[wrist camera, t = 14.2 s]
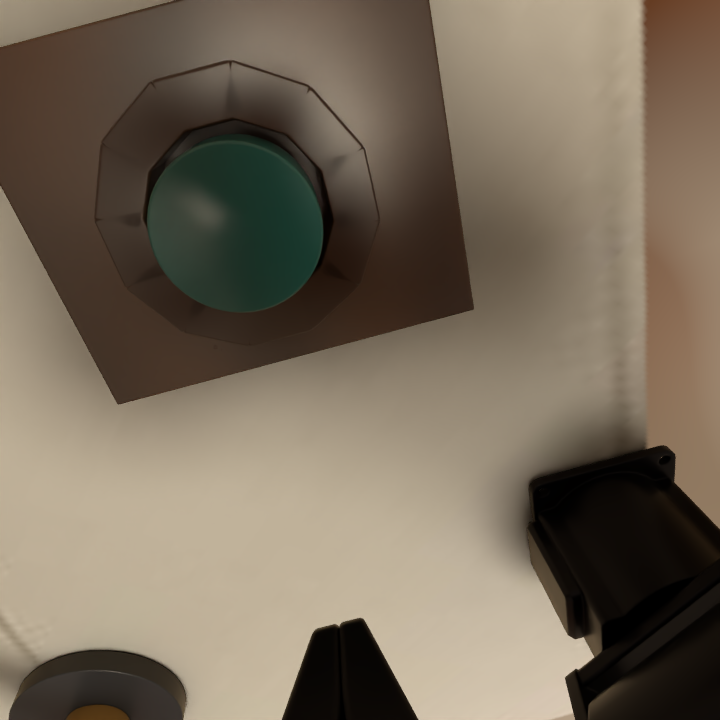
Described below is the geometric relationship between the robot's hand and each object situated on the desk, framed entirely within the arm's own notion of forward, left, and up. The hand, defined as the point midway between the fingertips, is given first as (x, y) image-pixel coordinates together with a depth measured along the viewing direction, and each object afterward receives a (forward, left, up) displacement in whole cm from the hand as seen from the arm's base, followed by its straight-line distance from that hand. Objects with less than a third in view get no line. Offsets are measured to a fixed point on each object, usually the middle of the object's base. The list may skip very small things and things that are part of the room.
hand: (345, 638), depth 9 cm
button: (+1, -5, -9) cm, 10 cm away
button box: (+1, -5, -12) cm, 13 cm away
